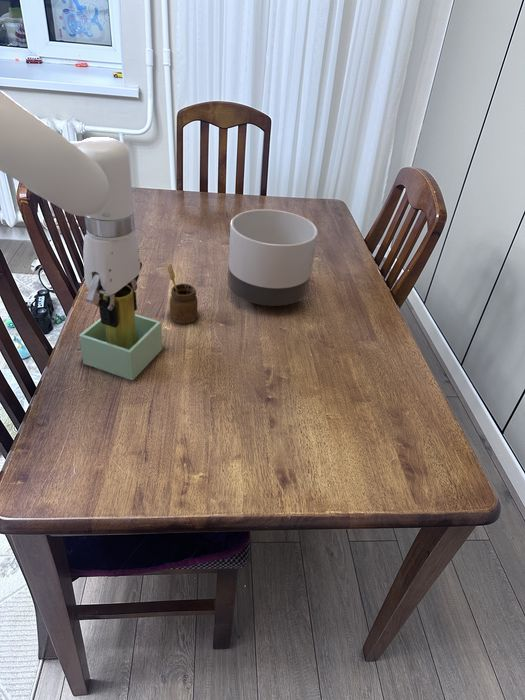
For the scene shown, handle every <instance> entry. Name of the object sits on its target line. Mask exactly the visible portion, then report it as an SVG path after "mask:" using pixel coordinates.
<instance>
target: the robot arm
mask: <svg viewBox="0 0 525 700" xmlns="http://www.w3.org/2000/svg"><path fill="white" fill-rule="evenodd" d="M130 156H131V155H130V151H129V148H128V146H127V145H126V144H125V143H124V142H123V141H120V140H119V139H115V138H112V137H111V138H110V137H89V138H86V139H83V140H82V141H70V140H68V139H67V138H66V137H64V136H63V135H62V134H61V133H60V132H59V131H57V130H55V129H54V128H52V127H51V126H50V125H49V124H47V123H46V122H44V121H42V119H40V118H39V117H37V116H36V115H35V114H33V113H31V112H30V111H29V110H28V109H26V108H25V107H23V106H22V105H21V104H19V103H18V102H17V101H15V100H14V99H13V98H11V97H10V96H9V95H8V94H6V93H5V92H4V91H3V90H1V89H0V172H2V173H4V174H6V175H8V176H9V177H11V178H12V179H14V180H16V181H17V182H18V183H21V184H22V185H23V186H24V187H25V188H26V189H27V190H29V191H30V192H31V193H33V194H35V195H36V196H38V197H40V198H41V199H43V200H45V201H46V202H49V203H51V204H52V205H55V206H56V207H58V208H59V209H61V210H63V211H65V212H66V213H67V214H70V215H72V216H77V217H84V224H85V231H86V234H85V235H84V237H83V251H82V253H83V255H82V257H83V258H82V259H83V273H84V283H85V287H86V290H88V291H87V295H86V298H85V300H86V302H88V303H90V304H93V305H95V306H96V307H98V308H99V317H100V318H101V323H102V324H105V325H108V326H111V327H114V328H116V327H117V326H118V317H117V309H116V308H115V307H114V299H115V293H116V292H117V291H119V290H120V289H121V288H123V287H124V286H125V285H129V286H130V287H131V288H132V289H133V297H134V310H135V312H136V311H137V310H138V304H137V292H136V291H137V290H138V283H137V282H138V280H139V277H140V272H141V271H142V268H143V263H142V262H141V257H140V247H139V241H138V236H137V235H138V234H137V231H136V228H135V227H136V226H135V212H134V199H133V183H132V170H131V157H130ZM104 294H105V295H107V296H108V301H106V300H104V299H103V296H104ZM100 318H99V319H100Z"/></svg>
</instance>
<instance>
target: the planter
mask: <svg viewBox="0 0 525 700" xmlns="http://www.w3.org/2000/svg"><path fill="white" fill-rule="evenodd" d="M229 228H230V230H229V245H228V247H229V248H228V260H227V261H228V263H227V282H226V283H227V287H228V288H229V290H230V291H231V292H232V293H233V294H234V295H236V296H237V297H239V298H240V299H242V300H244V301H247V302H249V303H252V304H256V305H261V306H269V307H270V306H271V307H272V306H273V307H275V306H276V307H277V306H280V307H281V306H287V305H292V304H294V303H297V302H299V301H301V300H302V299H304V297H306V295H307V294H308V291H309V286H310V281H311V275H312V270H313V263H314V257H315V252H316V246H317V240H318V235H319V231H318V227H317V226H316V225H315V223H313V222H312V221H311V220H309V219H308V218H307V217H304V216H302V215H299V214H297V213H293V212H289V211H286V210H280V209H268V208H265V209H264V208H262V209H251V210H246V211H243V212H240V213H238V214H236V215H234V217H233V218H232V219H231V221H230V227H229Z"/></svg>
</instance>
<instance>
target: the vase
mask: <svg viewBox="0 0 525 700" xmlns="http://www.w3.org/2000/svg"><path fill="white" fill-rule="evenodd" d="M103 299H104V300H106V301H108V296H107V295H105V294H104V296H103ZM114 307H115V308H116V309H117V317H118V326H117V327H116V328H114V327H111V326H108V325H105V328H106V341H107V343H110V344H113V345H116V346H119V347H122V348H125V349H128V350H129V349H130V348H132V347H133V346H134V345H135V344H136V343H137V342H138V338H137V332H136V326H135V314H136V311H135V310H134V297H133V289H132V288H131V287H130V286H129V285H125V286H124V287H123V288H121V289H120V290H119V291H117V292H116V293H115V299H114Z"/></svg>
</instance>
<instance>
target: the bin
mask: <svg viewBox="0 0 525 700" xmlns="http://www.w3.org/2000/svg"><path fill="white" fill-rule="evenodd" d="M135 326H136V332H137V338H138V342H137V343H136V344H135V345H134V346H133V347H132V348H130V349H129V350H128V349H125V348H122V347H119V346H116V345H113V344H110V343H107V341H106V328H105V324H102V323H101V318H98V319H97V320H96V321H95V322H93V323H92V324H91V325H90V326H88V327H87V328H86V329H85V330H83V331H82V332H81V333H80V334H79V335H78V339H79V346H80V351H81V357H82V363H83V365H85V366H88V367H92V368H95V369H97V370H101V371H104V372H106V373H109V374H112V375H115V376H118V377H121V378H124V379H127V380H130V381H134V380H135V379H136V378H137V377H138V375H140V373H142V372H143V370H145V368H146V367H148V365H149V364H150V363H151V362H152V360H154V359H155V358H156V357H157V356H158V355H159V353H160V352H161V351H163V334H162V329H163V328H162V321H159V320H155V319H152V318H150V317H149V318H148V317H146V316H143V315H139V314H136V313H135Z"/></svg>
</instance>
